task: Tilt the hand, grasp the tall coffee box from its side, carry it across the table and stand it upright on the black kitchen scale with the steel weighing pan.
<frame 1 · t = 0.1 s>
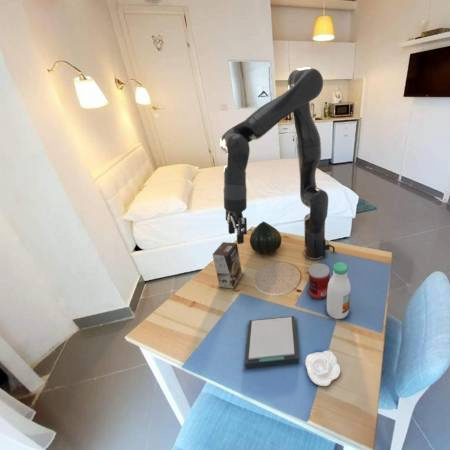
hand: (235, 238, 90), 22 cm above the table, tool pointing down, fingers open, 8 cm apart
coffee box: (231, 280, 104), on the table
canned food: (318, 292, 97), on the table
milk bottle: (337, 311, 89), on the table
rose: (322, 369, 70), on the table
scale: (272, 342, 78), on the table
squash: (266, 249, 123), on the table
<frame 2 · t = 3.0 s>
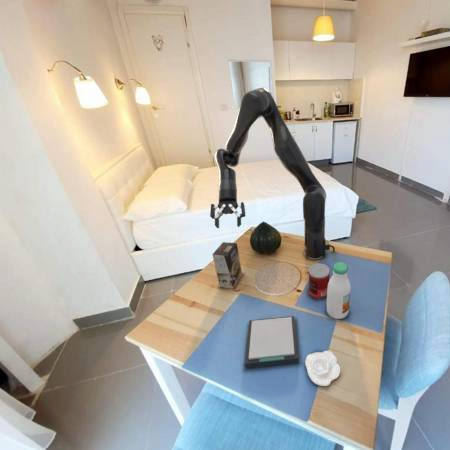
hand: (228, 227, 104), 19 cm above the table, tool tilted 45°, fingers open, 8 cm apart
nothing on the table moved.
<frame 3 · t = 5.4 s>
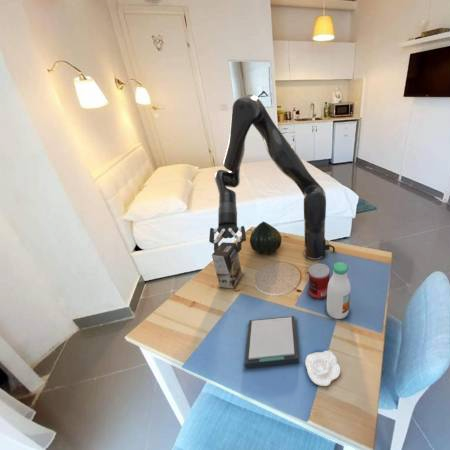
hand: (227, 252, 100), 12 cm above the table, tool tilted 45°, fingers open, 8 cm apart
coffee box: (231, 280, 104), on the table, touching gripper
everything else where it was.
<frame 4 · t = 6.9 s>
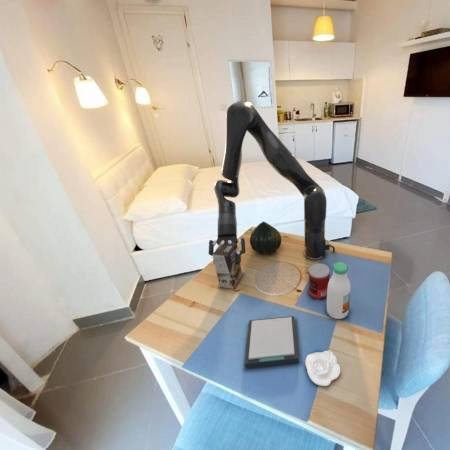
hand: (227, 265, 98), 9 cm above the table, tool tilted 45°, fingers closed on coffee box, 8 cm apart
coffee box: (231, 280, 104), on the table, touching gripper
everything else where it was.
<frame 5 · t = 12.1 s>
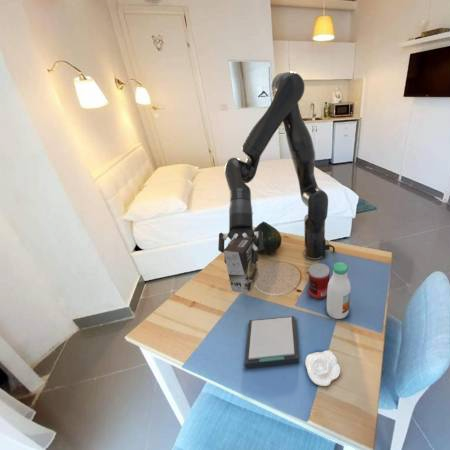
hand: (241, 264, 79), 21 cm above the table, tool tilted 45°, fingers closed on coffee box, 8 cm apart
coffee box: (246, 283, 84), point 12 cm above the table, touching gripper
everything else where it was.
when the fingers open (12 cm above the table, at t = 17.5 s): coffee box stays where it is, resting on scale.
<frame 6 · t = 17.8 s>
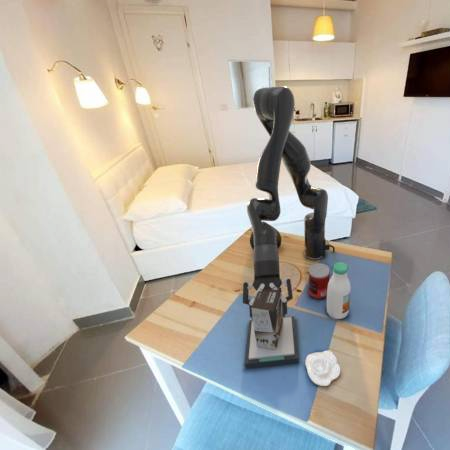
hand: (269, 317, 71), 13 cm above the table, tool tilted 45°, fingers open, 8 cm apart
coffee box: (270, 335, 77), point 3 cm above the table, touching gripper, scale
everything else where it was.
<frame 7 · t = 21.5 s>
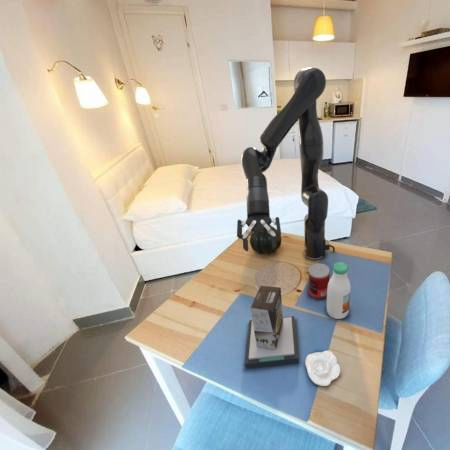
hand: (260, 249, 81), 24 cm above the table, tool tilted 45°, fingers open, 8 cm apart
coffee box: (270, 336, 77), point 3 cm above the table, touching scale
everything else where it was.
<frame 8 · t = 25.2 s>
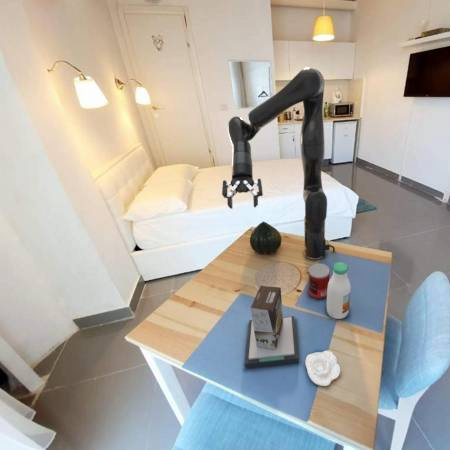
hand: (243, 207, 89), 33 cm above the table, tool tilted 45°, fingers open, 8 cm apart
nothing on the table moved.
at the end: coffee box inside the target area on the scale (0.4 cm from its centre), point 3.0 cm above the scale's base; coffee box tilted 0°; the gripper is holding nothing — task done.
